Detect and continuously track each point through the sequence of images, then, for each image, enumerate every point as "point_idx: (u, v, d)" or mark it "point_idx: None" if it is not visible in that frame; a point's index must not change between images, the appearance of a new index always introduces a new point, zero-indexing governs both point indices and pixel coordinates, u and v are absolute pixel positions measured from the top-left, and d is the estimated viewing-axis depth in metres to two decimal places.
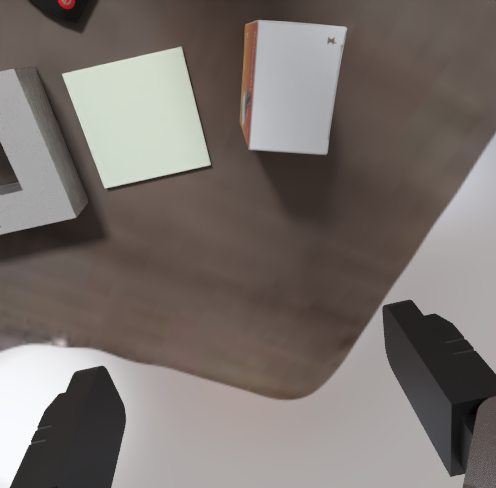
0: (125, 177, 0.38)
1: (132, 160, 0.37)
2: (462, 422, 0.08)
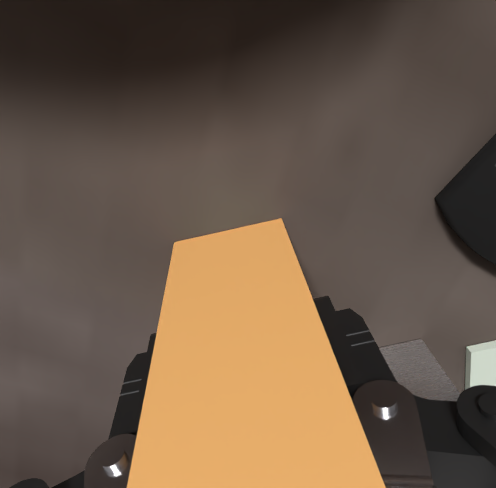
0: None
1: None
2: None
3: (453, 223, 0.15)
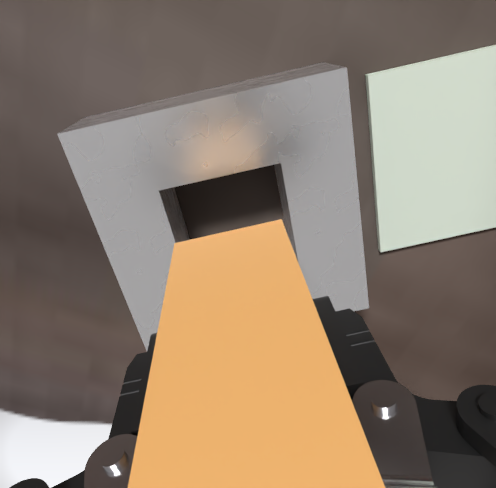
0: (416, 235, 0.24)
1: (434, 210, 0.24)
2: None
3: None
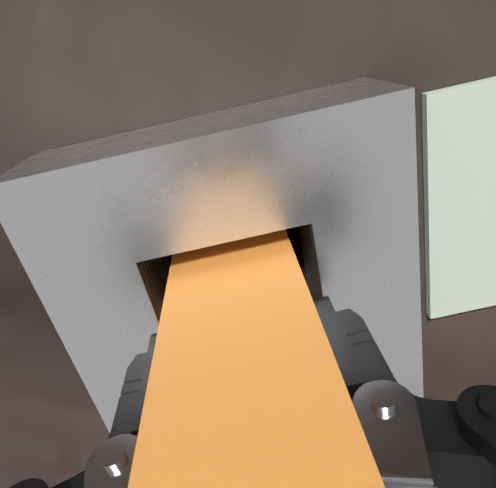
0: (477, 298, 0.19)
1: None
2: None
3: None
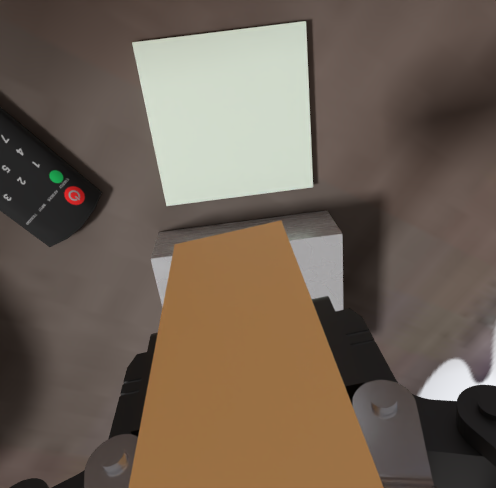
0: (302, 157, 0.27)
1: (280, 143, 0.27)
2: None
3: None
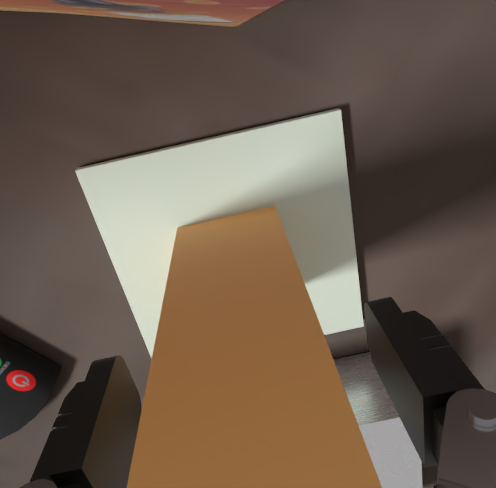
0: (346, 291, 0.19)
1: (312, 277, 0.18)
2: (434, 414, 0.09)
3: (13, 431, 0.20)
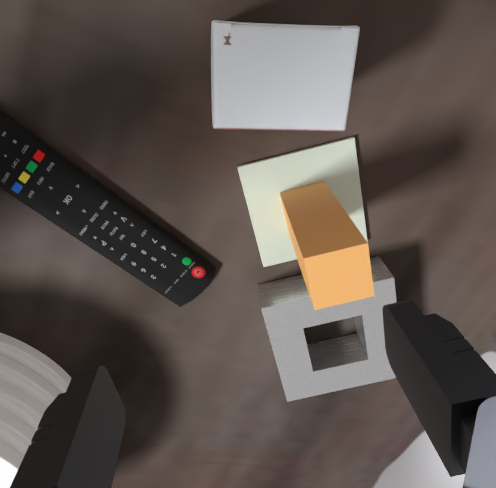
0: (358, 223, 0.38)
1: None
2: (462, 422, 0.08)
3: (188, 301, 0.41)
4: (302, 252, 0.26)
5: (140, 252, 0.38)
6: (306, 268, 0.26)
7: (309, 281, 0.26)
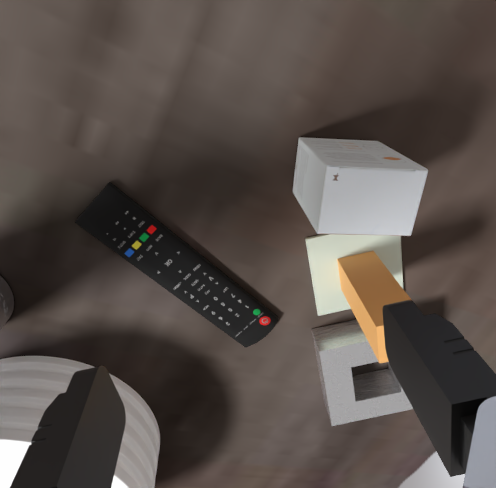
0: None
1: None
2: (462, 422, 0.08)
3: (253, 343, 0.49)
4: (373, 321, 0.35)
5: (220, 304, 0.46)
6: (377, 333, 0.35)
7: (378, 342, 0.35)
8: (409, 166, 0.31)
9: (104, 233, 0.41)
